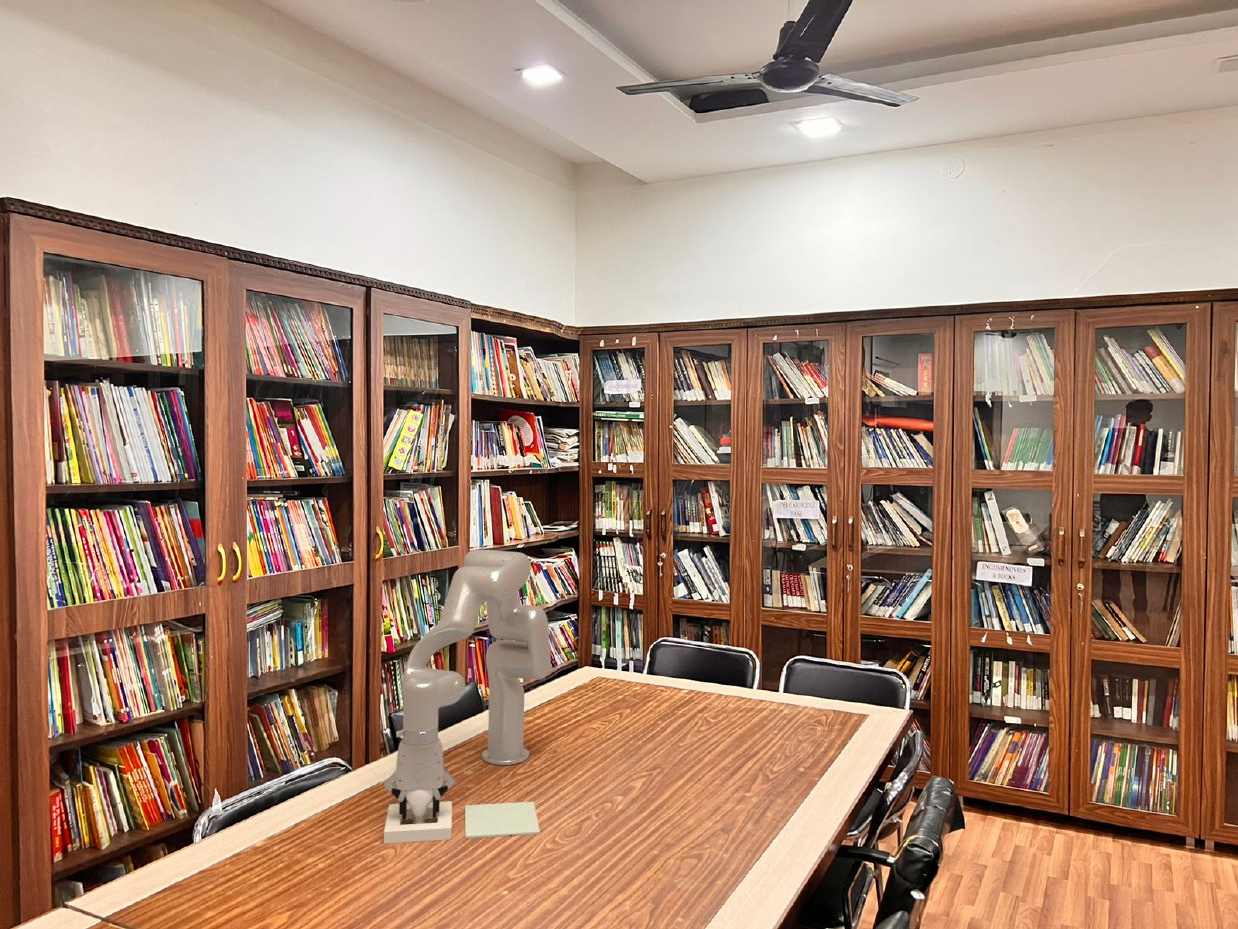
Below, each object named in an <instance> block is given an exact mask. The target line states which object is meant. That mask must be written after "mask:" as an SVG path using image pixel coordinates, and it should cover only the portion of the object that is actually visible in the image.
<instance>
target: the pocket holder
mask: <svg viewBox="0 0 1238 929" xmlns="http://www.w3.org/2000/svg"><path fill="white" fill-rule="evenodd" d="M452 807H453V801H452V800H447V801H440V803H439V812H437V813H436V818H434V817H433V801H431V802H430V804H429V805H428V808H427V812H426V820H430V819H432V818H433V819H437V822H428V823H426V822H425V823H424V824H413V823H411V824H408V823H407V824H402V823H403V822H402V821H403V820H402V814H401V815H399V803H395V804H394V803H391V804H390V803H389V804H388V809H387V814H386V821H385V824H384V829H383V844H384V845H387V844H401V843H417V842H430V841H431V842H432V841H448V840H449V841H450V839H451V840H452V822H453V820H452V819H453V818H452V817H453V811H452V810H453V808H452ZM408 819H410V820H408ZM411 819H413V813H412V809H411V806H410V805H409V803H408V802H407V809H406V819H405V820H404V821H411ZM401 822H402V823H401Z"/></svg>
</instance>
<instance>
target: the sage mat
mask: <svg viewBox="0 0 1238 929" xmlns="http://www.w3.org/2000/svg"><path fill="white" fill-rule="evenodd" d="M464 818H465V819H464V820H465V821H464V825H465V827H464V828H465V829H464V831H465V833H464V834H465V837H464V838H468V839H479V838H480V839H482V838H483V839H484V838H496V837H497V836H500V837H510V836H509V835H512V836H511V837H514V836H513V835H517V836H530V835H541V830H540V826H539V821H538V815H537V809H536V806H535V802H534V801H520V802H503V803H502V802H501V803H484V804H481V803H480V804H468V805H467V804H466V805H464ZM497 838H498V837H497Z"/></svg>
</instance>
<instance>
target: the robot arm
mask: <svg viewBox="0 0 1238 929" xmlns="http://www.w3.org/2000/svg"><path fill="white" fill-rule="evenodd" d="M531 567H532V566H531V561H530V558H529V556H527V554H525V553H523V552H518V551H505V550H503V551H502V550H494V549H473V550H469V551H468V552H467V553H466V554H465V556H464V558H463V566H462V567H460V568H458V569H456V571H455V572H454V574H453V576H452V580H451V583H450V585H449V588H448V592H447V596H446V599H445V601H444V605H443V608H442V612H441V616H440V618H439V620H438V623H437V624H436V625H435V626H434V627H433V628H431V629H430V630H429V631H428V632H427V633H425V634H424V635H423V636H422V638H420V640H418V642H417V643H416V644H415V645H414V646H413V648H412V649H411V651H410V654H409V656H408V658H407V662H406V665H405V668H404V671H403V674H402V679H401V692H402V694H403V714H402V715H403V716H402V717H403V718H402V719H403V721H402V722H403V723H402V726H403V728H401V729H400V730H396V734H395V735H396V738H400V739H401V740H400V742H399V744H398V749H397V756H396V767H395V768H396V769H395V771H393V773H392V774H391V775H390V776H389V777H388V778H387V779H386V780H385V781H384V783H383V787H384V788H385V789H386V790H387V791H388V792H390V793H391V794H392V795H393V797H394V798H396V799H397V801H398V802H399V803H398V804H399V815H401V814H402V821H406V820H405V819H406V809H407V804H408V802H407V800H406V797H405V795H406V792H407V791H412V790H433V794H434V797H433V799H432V802H433V817H434V819H437V818H436V813H437V812H439V803H440V802H441V798H442V797H443V796H444V795H445V794H446V793H447V792H448V790H449V789H451V788H452V786H454V785H455V784H456V778H455V777H454V776H453V775H452V774H451V773H450V772H449V771H448V770H447V769H446V768H445V767H444V764H445V763H444V749H443V745H442V740H441V739H440V738H439V709H440V708H443V707H447V706H451V705H454V704H456V703H457V702H458V701H460V700H461V698H462V697H463V695H464V694H465V690H466V682H465V678H464V677H463V676H462V675H461V674H460V673H458V672H456V671H453V670H452V671H451V670H445V669H437V668H429V667H427V664H428V663H429V662H430V661H429V660H430V659H431V658H432V657H433V656H434V655H435V653H436V652H438V651H439V650H441V649H442V648H444V647H447V646H448V645H452V644H454V643H457V642H459V641H462V640H464V639H467V638H469V637H471V636H472V635H473V634H474V632H475V629H476V624H477V621H478V618H479V614H480V611H481V608H482V604H483V603H485V607H486V617H487V624H488V630H489V633H490V635H491V636H492V637H493V638H496V639H499V640H496V641H494V642H492V643H490V644H489V646H488V648H487V649H486V653H485V664H486V671H487V676H488V678H487V679H488V724H487V725H488V728H487V729H488V734H487V737H488V738H487V748H486V749H485V750H483V751H482V753H481V758H482V760H483V761H484V762H486V763H488V764H491V765H497V766H511V765H517V763H518V764H520V763H524V762H526V761H527V760H528V759H529V758H530V751H529V750H528V749H527V748H525V747H524V739H525V738H524V736H525V735H524V733H525V732H524V731H525V689H524V687H523V685H522V682H521V680H520V679H525V680H533V681H534V680H535V681H537V680H543V679H544V678H546V677H547V676H548V674H549V672H550V669H551V665H552V663H551V661H552V659H551V658H552V657H551V645H550V643H551V642H550V630H549V621H548V616H547V614H546V612H545V610H544V609H543V608H541V607H539V606H537V605H530V604H529V605H527V604H521V603H520V600H519V594H518V591H519V590H521V588H522V587H524V585H525V584H526V583H527V581H528V579H529V578H530V574H531V571H532V570H531V569H532V568H531ZM444 780H446V782H445V783H444ZM394 783H395V785H394Z"/></svg>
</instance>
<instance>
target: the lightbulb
mask: <svg viewBox="0 0 1238 929" xmlns="http://www.w3.org/2000/svg"><path fill="white" fill-rule="evenodd" d="M405 797H406V800H407V804H408V803H409V805H410V806H411V809H412V813H413V820H412V824H424V823H426V820H427V819H426V812H427V808H428V805H429V804H430V802H433V797H434V794H433V790H412V791H407V792H406V795H405Z"/></svg>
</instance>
